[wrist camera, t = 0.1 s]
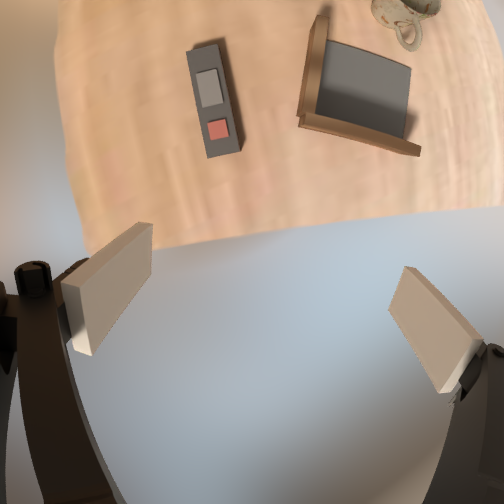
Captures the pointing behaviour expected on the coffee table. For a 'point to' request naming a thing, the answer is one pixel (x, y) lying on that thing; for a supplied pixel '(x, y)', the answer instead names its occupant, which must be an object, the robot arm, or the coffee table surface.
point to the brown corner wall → (329, 124)
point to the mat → (363, 89)
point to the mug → (405, 16)
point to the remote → (213, 101)
